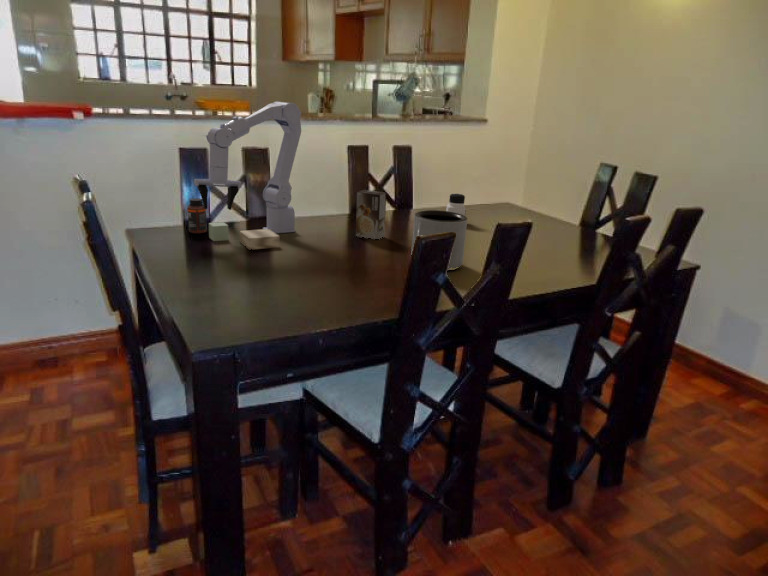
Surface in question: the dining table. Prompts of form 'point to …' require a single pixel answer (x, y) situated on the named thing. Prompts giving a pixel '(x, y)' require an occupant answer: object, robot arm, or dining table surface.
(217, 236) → the sage cube
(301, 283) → the dining table surface
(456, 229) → the planter
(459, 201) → the medicine bottle
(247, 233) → the birch base
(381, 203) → the coffee box
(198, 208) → the supplement bottle
